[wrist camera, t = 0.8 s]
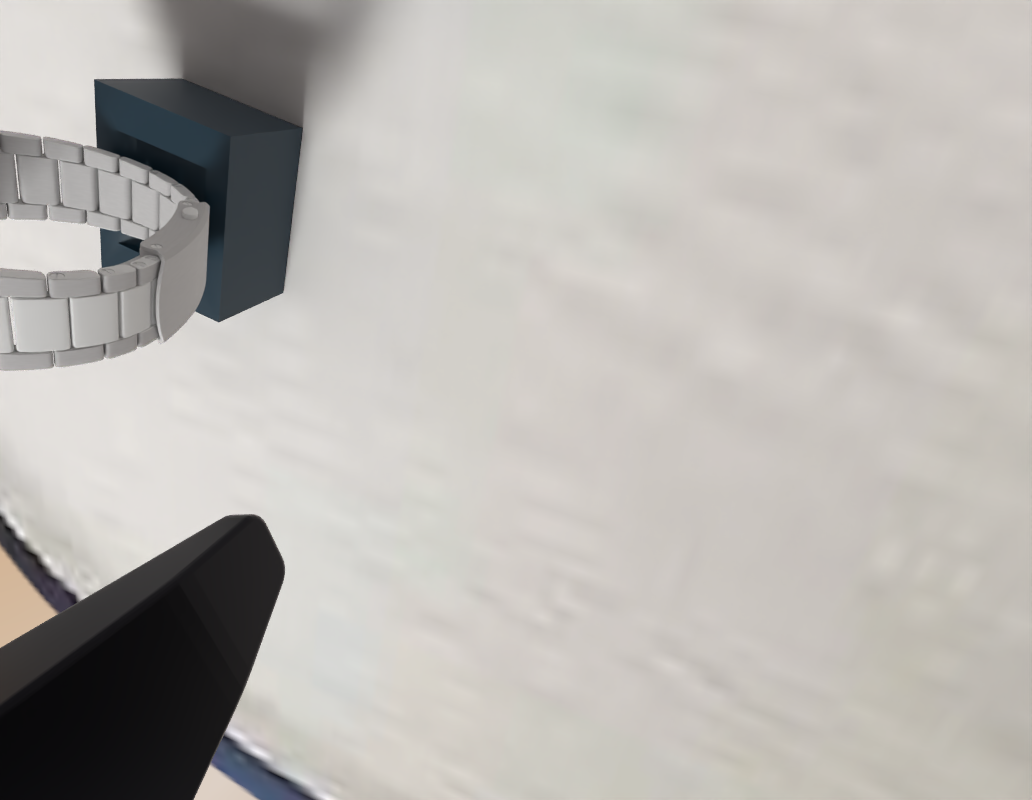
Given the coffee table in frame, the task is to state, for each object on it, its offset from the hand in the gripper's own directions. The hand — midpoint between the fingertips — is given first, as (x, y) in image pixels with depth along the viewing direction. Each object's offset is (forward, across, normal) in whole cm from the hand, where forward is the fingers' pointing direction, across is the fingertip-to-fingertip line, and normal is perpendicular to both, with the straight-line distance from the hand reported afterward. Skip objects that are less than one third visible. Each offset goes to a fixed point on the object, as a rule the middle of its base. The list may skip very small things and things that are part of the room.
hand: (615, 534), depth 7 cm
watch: (+14, +13, -2) cm, 19 cm away
